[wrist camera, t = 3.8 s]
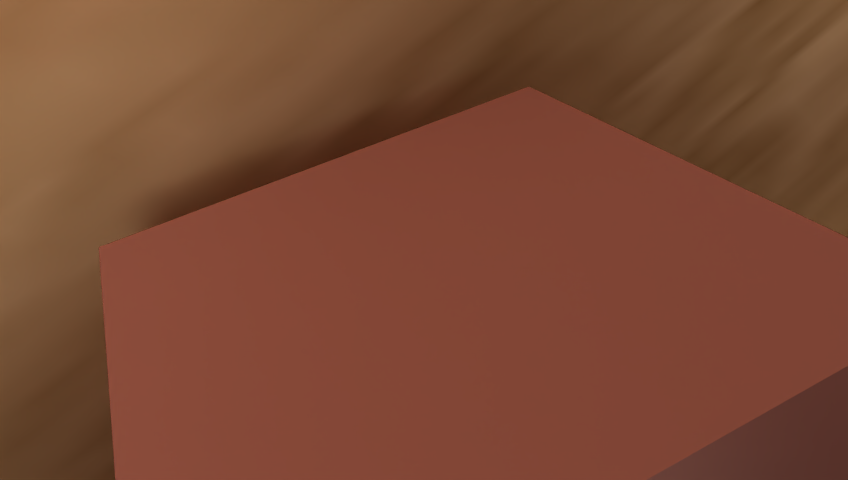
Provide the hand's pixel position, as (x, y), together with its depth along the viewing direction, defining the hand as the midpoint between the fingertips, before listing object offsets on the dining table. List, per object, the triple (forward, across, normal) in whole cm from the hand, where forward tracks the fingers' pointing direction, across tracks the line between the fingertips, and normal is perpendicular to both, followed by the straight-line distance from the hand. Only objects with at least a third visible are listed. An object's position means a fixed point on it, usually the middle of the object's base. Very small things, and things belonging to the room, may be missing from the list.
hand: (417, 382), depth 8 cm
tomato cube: (+1, 0, 0) cm, 1 cm away
